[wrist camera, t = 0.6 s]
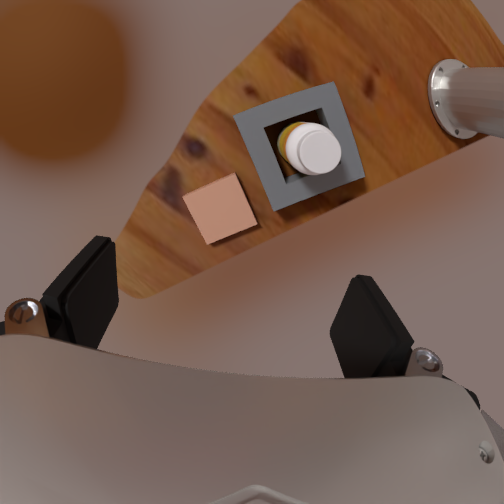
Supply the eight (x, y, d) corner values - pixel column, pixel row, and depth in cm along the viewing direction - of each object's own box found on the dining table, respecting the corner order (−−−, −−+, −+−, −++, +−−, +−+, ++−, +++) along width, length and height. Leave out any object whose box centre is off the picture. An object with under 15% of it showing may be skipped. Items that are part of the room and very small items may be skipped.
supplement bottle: (275, 163, 34) (290, 180, 25) (277, 120, 31) (292, 121, 23) (318, 165, 34) (346, 183, 25) (320, 123, 32) (350, 126, 23)
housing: (325, 84, 29) (333, 81, 27) (355, 171, 34) (365, 176, 32) (233, 116, 31) (232, 115, 28) (270, 203, 36) (273, 211, 33)
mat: (235, 172, 34) (235, 173, 33) (256, 221, 37) (257, 224, 36) (184, 195, 35) (182, 197, 34) (207, 241, 38) (207, 244, 37)
